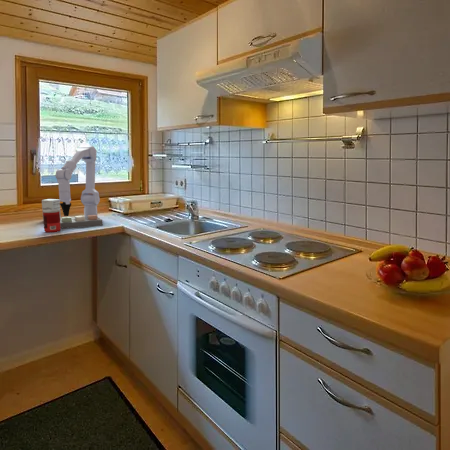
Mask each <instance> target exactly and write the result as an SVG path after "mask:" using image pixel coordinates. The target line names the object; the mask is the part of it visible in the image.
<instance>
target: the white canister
mask: <svg viewBox="0 0 450 450" xmlns="http://www.w3.org/2000/svg"><path fill="white" fill-rule="evenodd" d="M59 199H60V198H59ZM59 199H58V198H57V199H56V198H47V199H42V200H41V209H42V212H43V211H44V210H53V209H56V210H59V211H60V212H61V206H60V203H61V201H57V200H59ZM42 220H43V219H42ZM60 220H62V217H61V213H60ZM43 222H44V220H43Z"/></svg>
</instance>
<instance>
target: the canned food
mask: <svg viewBox="0 0 450 450" xmlns="http://www.w3.org/2000/svg"><path fill="white" fill-rule="evenodd" d="M60 214H61V210H60V211H59V210H56V209H53V210H44V211H42V220H44V221H43V229H44V230H43V231H44V232H45V233H47V234H48V233H49V234H51V233H52V234H53V233H59V232H61V225H60Z"/></svg>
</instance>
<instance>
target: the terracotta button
mask: <svg viewBox="0 0 450 450" xmlns="http://www.w3.org/2000/svg"><path fill="white" fill-rule="evenodd" d="M97 216H98V214H97V215H88V220H95V219H97Z"/></svg>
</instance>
